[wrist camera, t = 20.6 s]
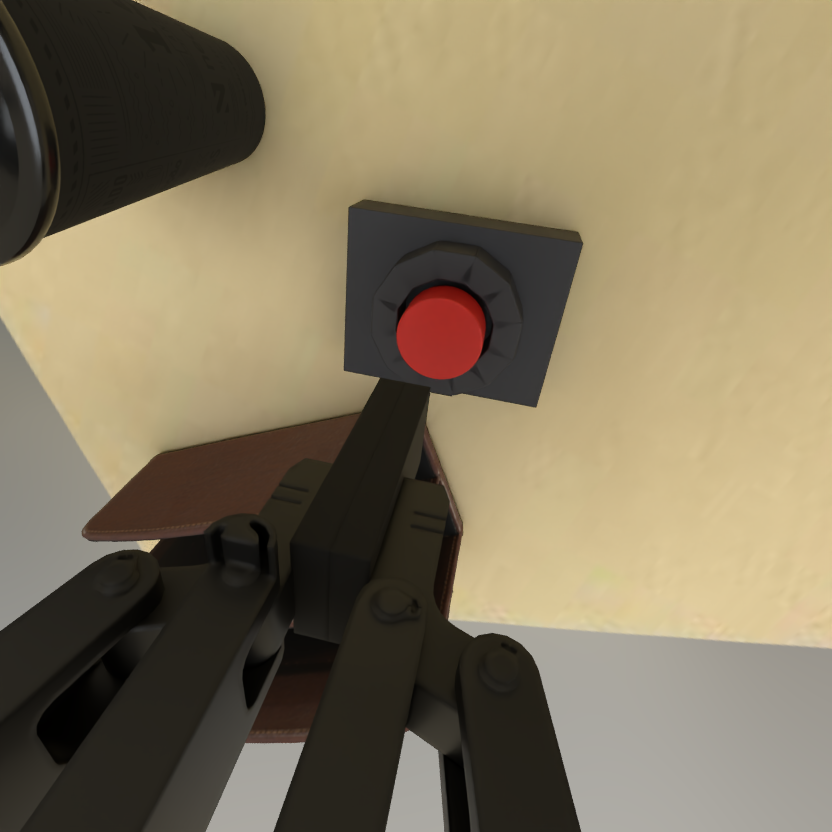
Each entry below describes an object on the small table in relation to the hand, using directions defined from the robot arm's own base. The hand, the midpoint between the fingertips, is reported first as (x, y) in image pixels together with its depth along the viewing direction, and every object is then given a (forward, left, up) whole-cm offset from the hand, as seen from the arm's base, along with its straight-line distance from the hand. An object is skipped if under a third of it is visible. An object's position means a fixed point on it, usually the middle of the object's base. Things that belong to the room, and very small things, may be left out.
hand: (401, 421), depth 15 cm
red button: (0, 0, -8) cm, 8 cm away
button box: (0, 0, -12) cm, 12 cm away
